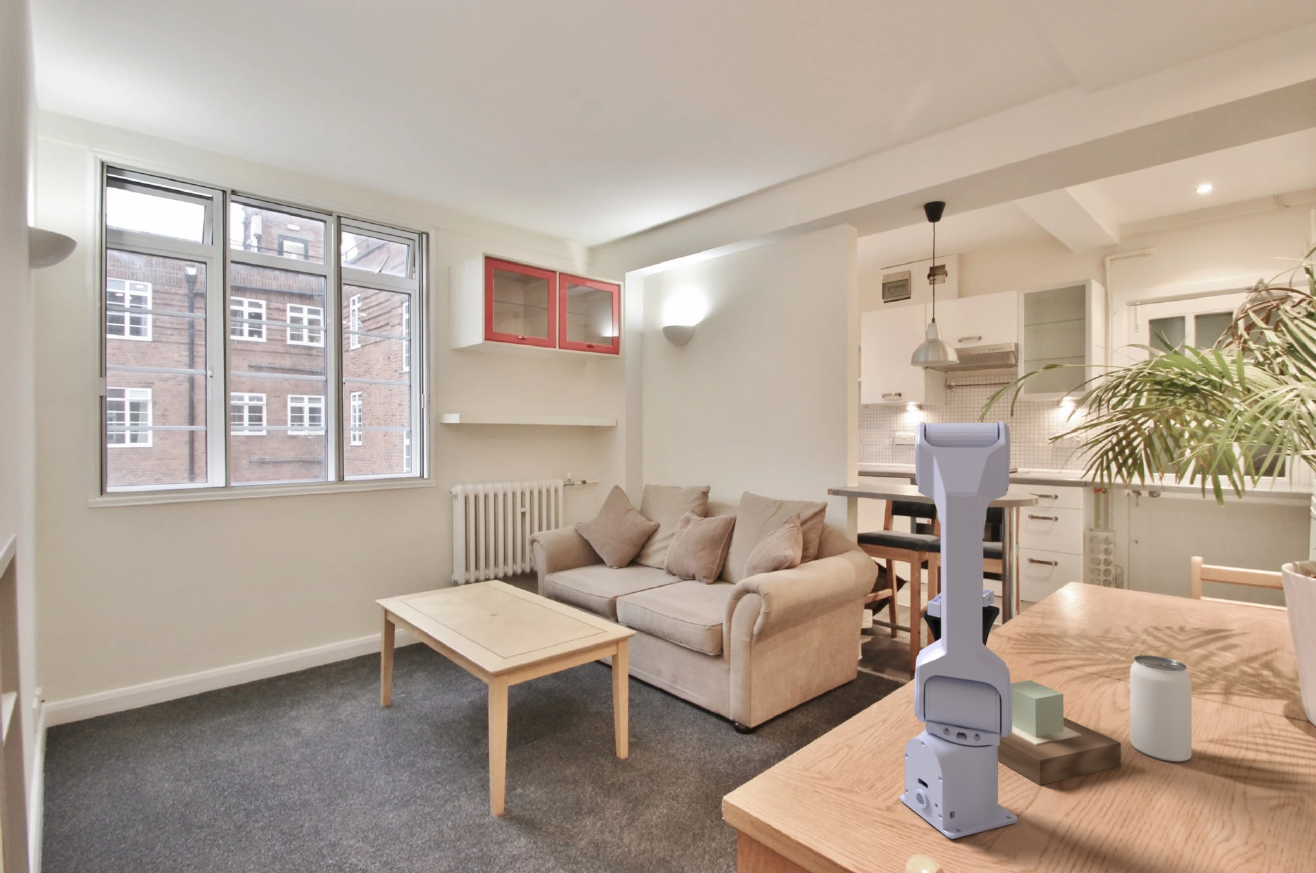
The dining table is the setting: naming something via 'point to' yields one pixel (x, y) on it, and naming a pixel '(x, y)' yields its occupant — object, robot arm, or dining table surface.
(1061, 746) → the base
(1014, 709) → the cube
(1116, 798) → the dining table surface
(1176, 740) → the can
